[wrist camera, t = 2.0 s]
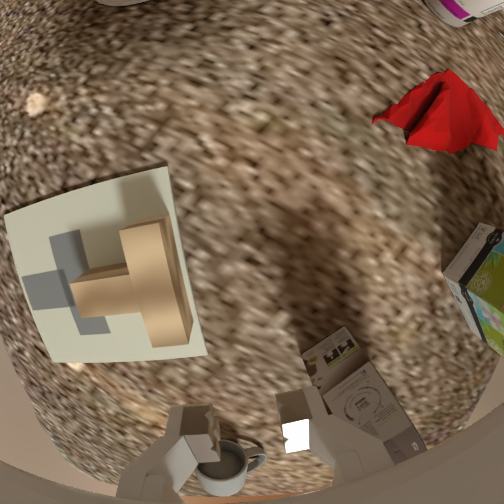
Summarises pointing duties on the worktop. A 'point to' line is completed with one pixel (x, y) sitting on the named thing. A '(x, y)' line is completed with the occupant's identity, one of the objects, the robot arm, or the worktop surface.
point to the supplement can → (463, 10)
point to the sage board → (92, 266)
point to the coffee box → (361, 394)
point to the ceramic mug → (228, 468)
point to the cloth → (445, 115)
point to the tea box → (481, 284)
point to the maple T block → (141, 284)
